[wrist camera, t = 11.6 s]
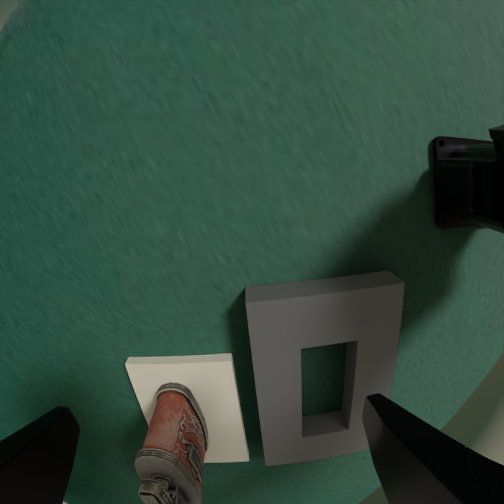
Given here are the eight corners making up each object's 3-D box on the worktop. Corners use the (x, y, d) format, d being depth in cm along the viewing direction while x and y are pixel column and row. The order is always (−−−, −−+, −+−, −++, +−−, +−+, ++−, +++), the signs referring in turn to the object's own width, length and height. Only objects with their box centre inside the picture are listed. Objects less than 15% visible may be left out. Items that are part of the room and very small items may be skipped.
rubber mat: (231, 352, 22) (231, 360, 21) (248, 453, 25) (249, 461, 24) (128, 357, 22) (124, 364, 21) (166, 454, 25) (164, 461, 24)
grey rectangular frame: (388, 270, 21) (404, 282, 18) (369, 428, 25) (377, 447, 22) (245, 286, 21) (245, 302, 18) (264, 446, 25) (265, 466, 22)
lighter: (215, 448, 23) (208, 544, 14) (178, 448, 24) (161, 540, 14) (192, 380, 21) (169, 493, 12) (150, 382, 21) (111, 487, 12)
